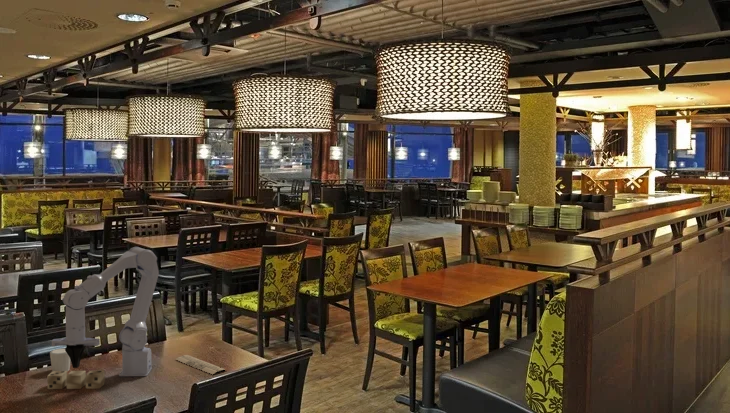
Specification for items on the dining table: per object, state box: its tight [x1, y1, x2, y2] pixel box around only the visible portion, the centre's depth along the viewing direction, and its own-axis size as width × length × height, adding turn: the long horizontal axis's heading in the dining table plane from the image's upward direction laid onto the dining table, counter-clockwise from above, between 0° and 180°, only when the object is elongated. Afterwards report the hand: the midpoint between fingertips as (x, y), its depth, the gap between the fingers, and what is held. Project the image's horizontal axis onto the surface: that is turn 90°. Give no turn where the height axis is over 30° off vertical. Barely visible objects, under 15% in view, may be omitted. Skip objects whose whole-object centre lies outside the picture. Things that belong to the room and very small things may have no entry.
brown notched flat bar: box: [175, 354, 226, 376], centre depth 226 cm, size 24×7×2 cm, turn 49°
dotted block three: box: [47, 371, 68, 390], centre depth 204 cm, size 4×5×5 cm
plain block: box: [66, 370, 87, 390], centre depth 204 cm, size 4×4×4 cm
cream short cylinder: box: [49, 347, 71, 372], centre depth 219 cm, size 7×7×7 cm
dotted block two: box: [85, 369, 106, 389], centre depth 205 cm, size 4×5×5 cm
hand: (76, 367), depth 204 cm, fingers closed
